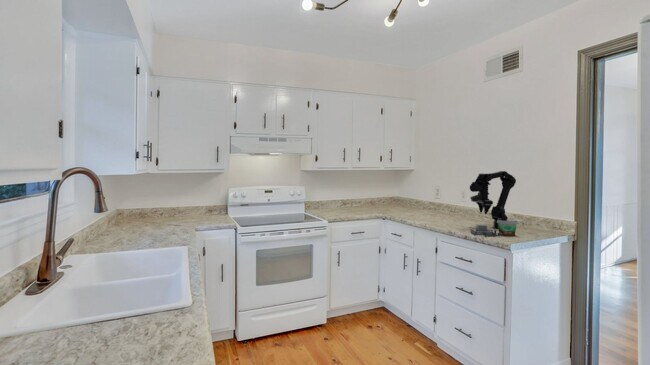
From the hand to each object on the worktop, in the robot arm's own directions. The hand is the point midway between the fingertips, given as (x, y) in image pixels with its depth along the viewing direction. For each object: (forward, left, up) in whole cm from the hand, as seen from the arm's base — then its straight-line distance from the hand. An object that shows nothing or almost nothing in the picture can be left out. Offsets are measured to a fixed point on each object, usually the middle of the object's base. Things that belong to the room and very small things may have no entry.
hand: (483, 213), depth 222 cm
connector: (+5, +13, -12) cm, 19 cm away
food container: (-10, +18, -12) cm, 24 cm away
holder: (+5, +13, -12) cm, 19 cm away
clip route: (+2, +18, -12) cm, 21 cm away
